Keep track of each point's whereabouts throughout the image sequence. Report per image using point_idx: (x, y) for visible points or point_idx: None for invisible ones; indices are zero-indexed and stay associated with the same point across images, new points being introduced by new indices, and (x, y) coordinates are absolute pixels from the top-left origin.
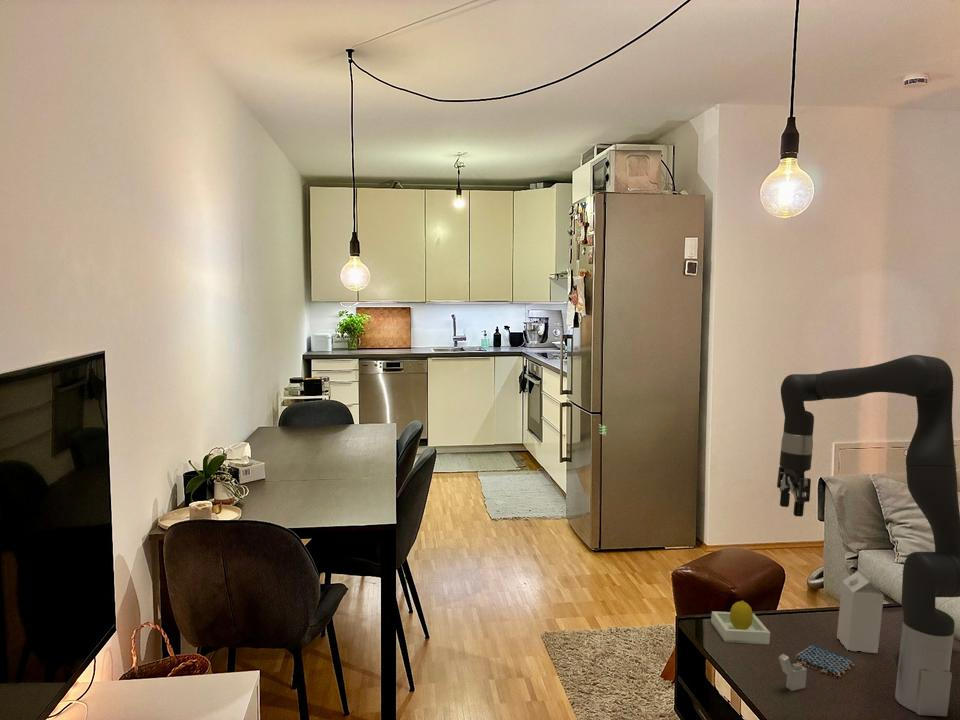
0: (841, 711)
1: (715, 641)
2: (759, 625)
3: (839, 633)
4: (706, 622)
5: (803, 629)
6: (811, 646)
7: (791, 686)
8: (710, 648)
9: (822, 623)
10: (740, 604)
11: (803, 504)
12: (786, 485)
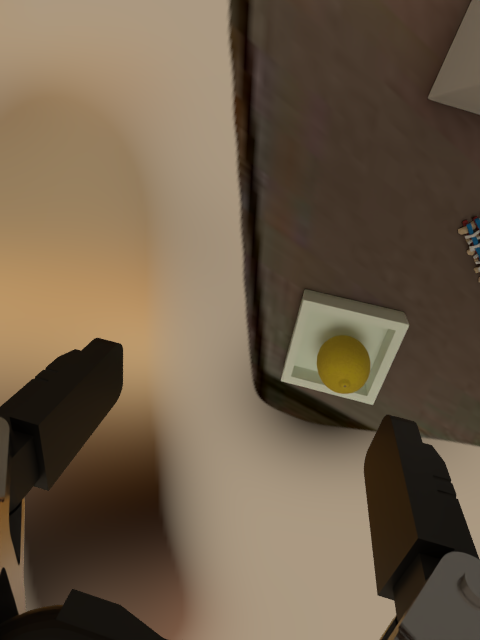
0: None
1: None
2: (363, 321)
3: (450, 103)
4: None
5: (353, 171)
6: (475, 242)
7: None
8: None
9: (329, 77)
10: (350, 390)
11: (476, 557)
12: (10, 609)
